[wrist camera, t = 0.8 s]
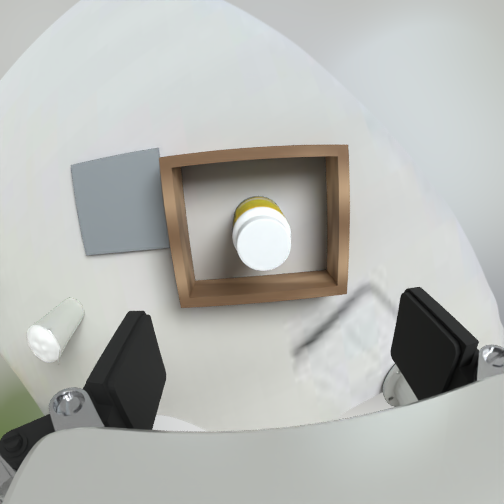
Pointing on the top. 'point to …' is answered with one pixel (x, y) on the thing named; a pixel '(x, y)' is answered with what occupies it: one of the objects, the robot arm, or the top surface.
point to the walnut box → (267, 285)
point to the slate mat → (121, 203)
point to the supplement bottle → (261, 233)
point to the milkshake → (55, 330)
